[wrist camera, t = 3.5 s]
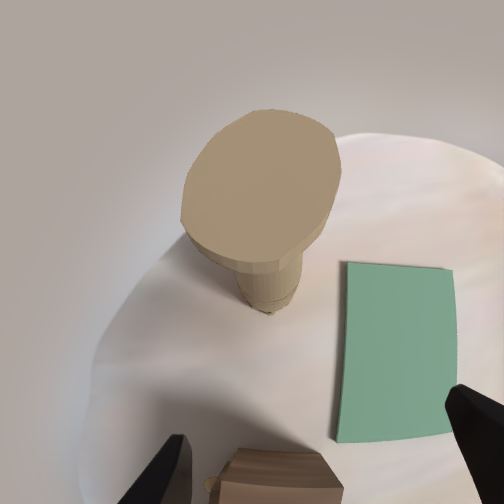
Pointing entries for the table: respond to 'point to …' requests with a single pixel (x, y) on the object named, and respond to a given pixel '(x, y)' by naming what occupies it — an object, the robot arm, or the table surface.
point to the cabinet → (275, 479)
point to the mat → (397, 353)
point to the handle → (262, 200)
